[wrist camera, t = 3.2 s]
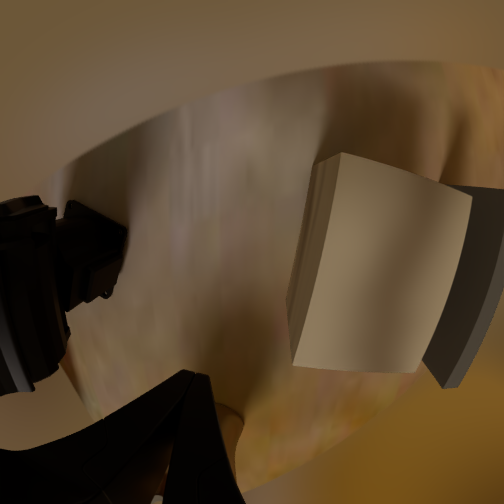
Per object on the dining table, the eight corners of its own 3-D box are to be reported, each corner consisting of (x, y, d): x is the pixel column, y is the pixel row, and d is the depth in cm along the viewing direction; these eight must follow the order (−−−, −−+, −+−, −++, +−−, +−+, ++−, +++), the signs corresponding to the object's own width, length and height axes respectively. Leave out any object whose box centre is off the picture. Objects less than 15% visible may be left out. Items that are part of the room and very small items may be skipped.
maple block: (285, 298, 20) (292, 365, 12) (312, 166, 17) (341, 151, 10) (372, 311, 19) (414, 372, 12) (403, 189, 17) (472, 196, 9)
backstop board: (398, 329, 20) (442, 388, 12) (437, 184, 17) (510, 190, 9) (412, 330, 20) (457, 387, 12) (451, 189, 17) (523, 198, 9)
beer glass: (170, 422, 24) (124, 535, 9) (196, 387, 22) (143, 531, 8) (228, 447, 24) (206, 561, 10) (261, 417, 23) (249, 558, 8)
